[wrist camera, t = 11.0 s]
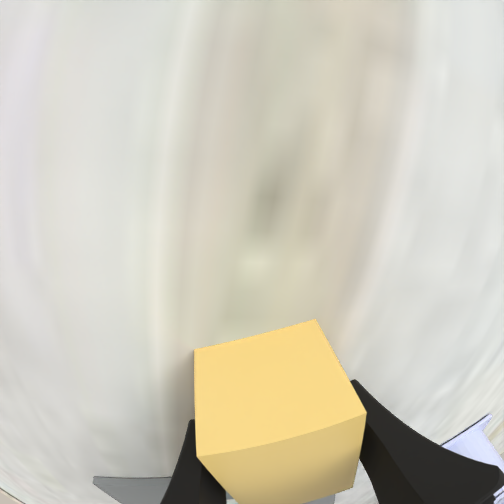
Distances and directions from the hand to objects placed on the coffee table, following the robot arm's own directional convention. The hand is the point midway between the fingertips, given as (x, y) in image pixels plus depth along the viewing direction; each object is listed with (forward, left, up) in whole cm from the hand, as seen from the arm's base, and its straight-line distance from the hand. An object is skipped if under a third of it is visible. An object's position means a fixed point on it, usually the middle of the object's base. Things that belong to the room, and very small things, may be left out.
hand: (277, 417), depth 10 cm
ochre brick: (0, 0, -2) cm, 2 cm away
